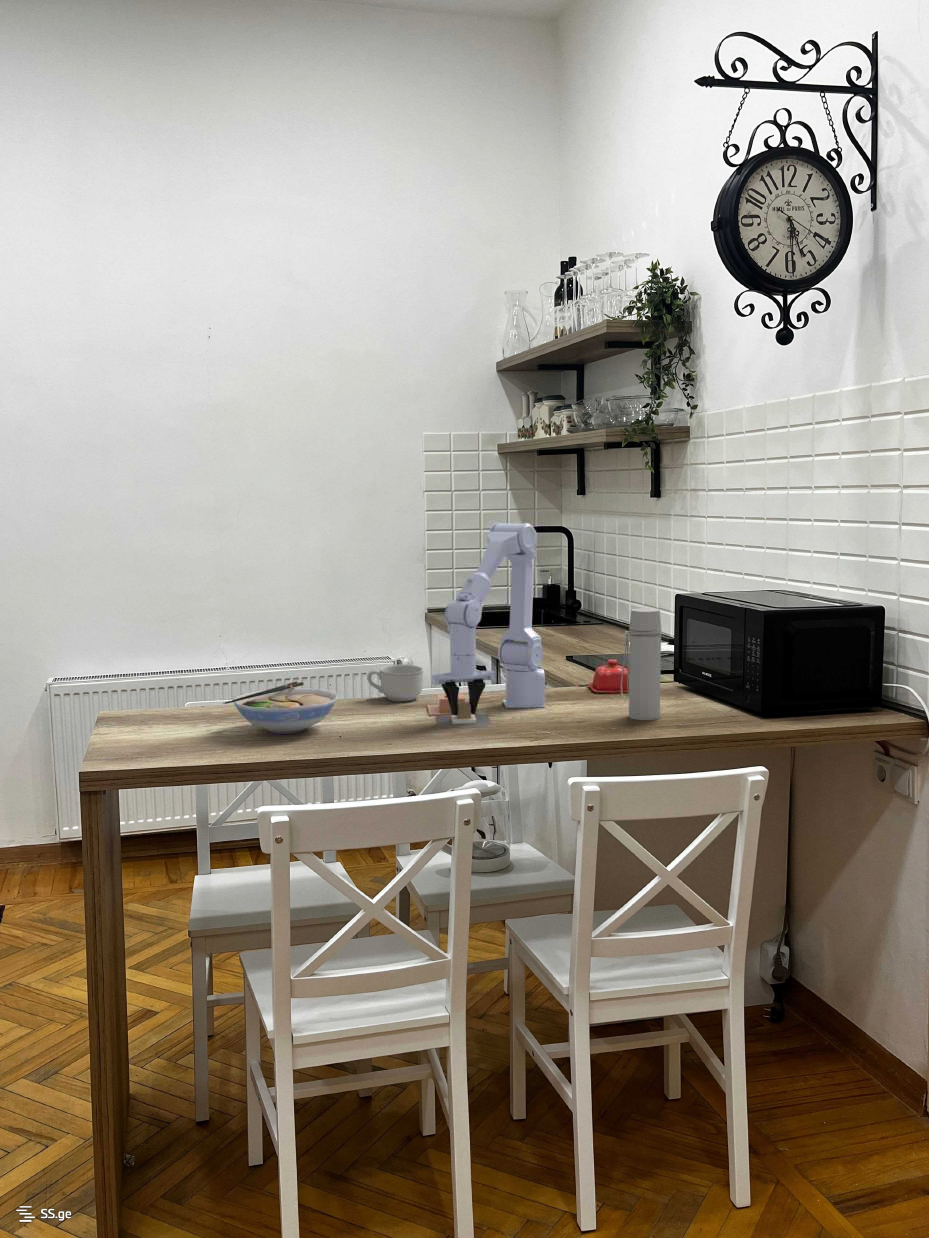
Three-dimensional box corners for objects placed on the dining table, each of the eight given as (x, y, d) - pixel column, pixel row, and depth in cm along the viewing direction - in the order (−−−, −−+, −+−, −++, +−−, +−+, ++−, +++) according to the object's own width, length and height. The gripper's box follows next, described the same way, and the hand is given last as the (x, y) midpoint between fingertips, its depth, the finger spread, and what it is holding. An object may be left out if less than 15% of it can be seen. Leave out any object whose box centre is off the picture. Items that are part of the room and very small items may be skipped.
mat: (487, 716, 247) (487, 714, 247) (492, 728, 235) (492, 726, 235) (435, 717, 246) (435, 716, 246) (438, 729, 234) (438, 727, 234)
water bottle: (664, 717, 244) (666, 608, 241) (655, 724, 237) (657, 612, 234) (625, 714, 248) (626, 607, 245) (615, 721, 241) (616, 610, 238)
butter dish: (639, 695, 271) (639, 662, 270) (593, 696, 271) (594, 663, 270) (629, 687, 283) (630, 655, 281) (586, 688, 282) (586, 656, 281)
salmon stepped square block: (472, 705, 259) (472, 691, 259) (476, 715, 248) (476, 700, 248) (427, 706, 258) (427, 692, 258) (429, 716, 248) (428, 701, 247)
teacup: (426, 695, 273) (425, 664, 272) (420, 704, 262) (420, 671, 261) (372, 694, 274) (371, 664, 273) (364, 703, 264) (363, 671, 263)
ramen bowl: (288, 748, 218) (287, 709, 217) (207, 735, 230) (206, 698, 229) (363, 725, 239) (362, 689, 238) (285, 714, 251) (284, 680, 250)
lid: (474, 718, 243) (474, 701, 243) (476, 723, 238) (476, 706, 238) (451, 718, 243) (451, 702, 242) (452, 723, 238) (452, 706, 237)
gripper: (485, 649, 245) (486, 707, 247) (426, 653, 240) (427, 713, 241) (498, 653, 239) (498, 713, 240) (437, 658, 233) (438, 719, 235)
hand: (463, 713), depth 240 cm, fingers closed on lid, 4 cm apart
